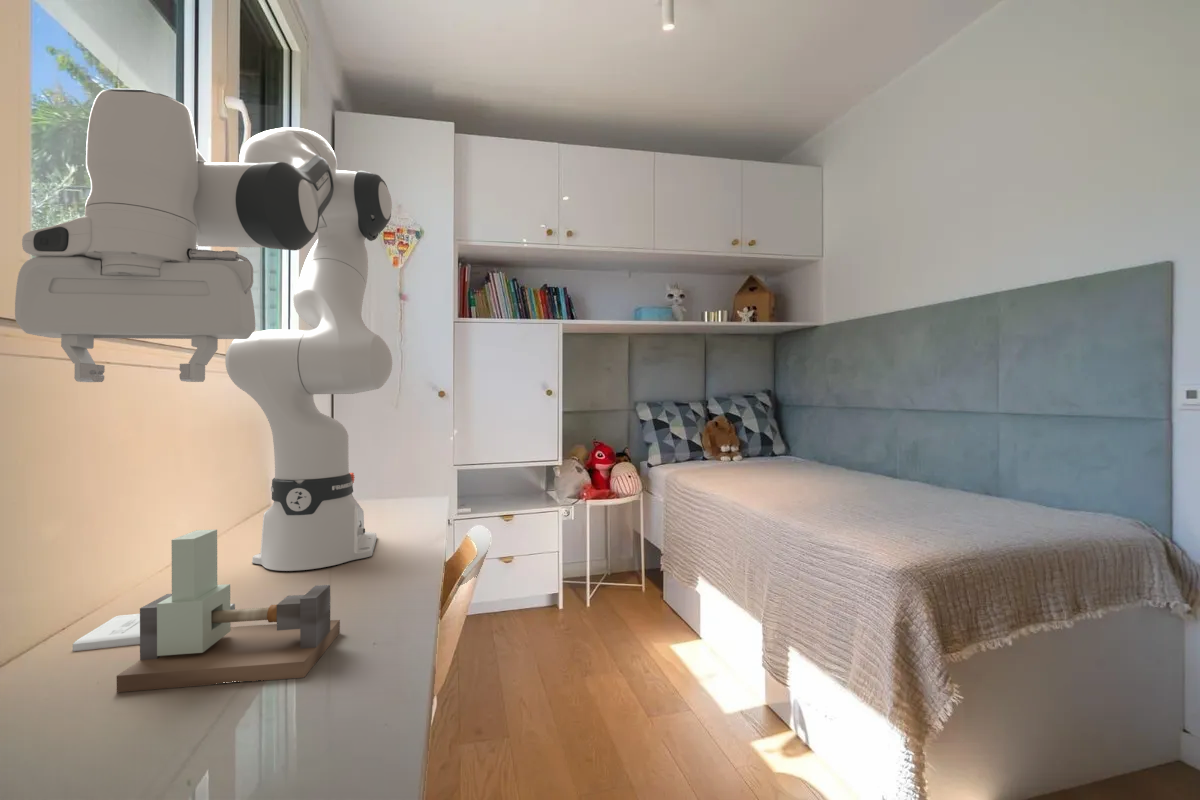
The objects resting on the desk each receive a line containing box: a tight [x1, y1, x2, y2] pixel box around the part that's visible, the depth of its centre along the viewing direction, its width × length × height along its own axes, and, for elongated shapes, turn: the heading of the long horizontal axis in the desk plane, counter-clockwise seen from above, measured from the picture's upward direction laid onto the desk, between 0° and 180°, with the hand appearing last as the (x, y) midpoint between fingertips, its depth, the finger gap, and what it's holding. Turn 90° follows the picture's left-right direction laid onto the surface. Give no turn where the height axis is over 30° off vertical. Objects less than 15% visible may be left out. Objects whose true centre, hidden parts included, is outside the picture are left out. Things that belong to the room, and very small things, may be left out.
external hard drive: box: [72, 603, 236, 652], centre depth 62 cm, size 2×8×12 cm
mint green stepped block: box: [157, 529, 232, 656], centre depth 54 cm, size 5×4×11 cm
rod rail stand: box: [116, 584, 341, 693], centre depth 55 cm, size 10×16×6 cm, turn 98°
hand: (141, 381), depth 54 cm, fingers open, 8 cm apart
